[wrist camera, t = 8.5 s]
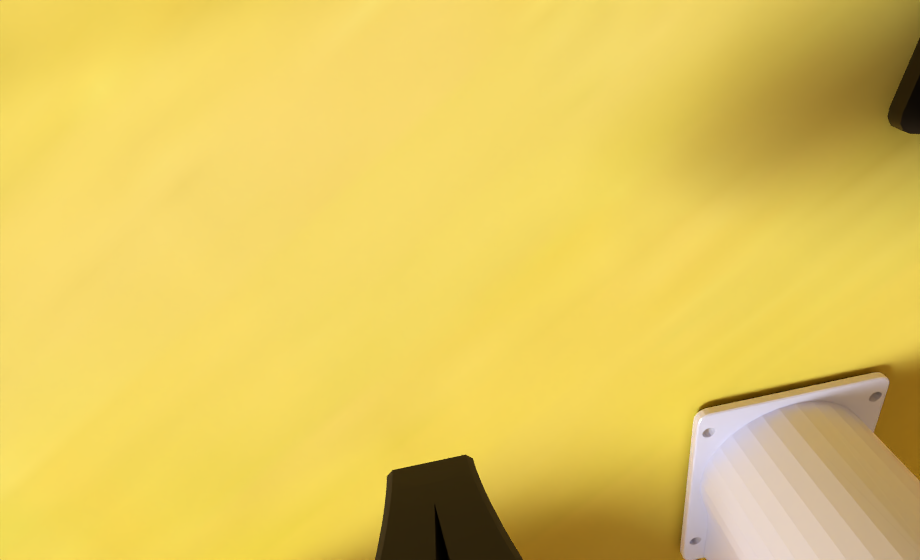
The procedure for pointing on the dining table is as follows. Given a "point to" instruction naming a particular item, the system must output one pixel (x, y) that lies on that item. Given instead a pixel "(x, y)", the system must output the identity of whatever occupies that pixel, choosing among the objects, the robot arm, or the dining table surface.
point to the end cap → (908, 98)
